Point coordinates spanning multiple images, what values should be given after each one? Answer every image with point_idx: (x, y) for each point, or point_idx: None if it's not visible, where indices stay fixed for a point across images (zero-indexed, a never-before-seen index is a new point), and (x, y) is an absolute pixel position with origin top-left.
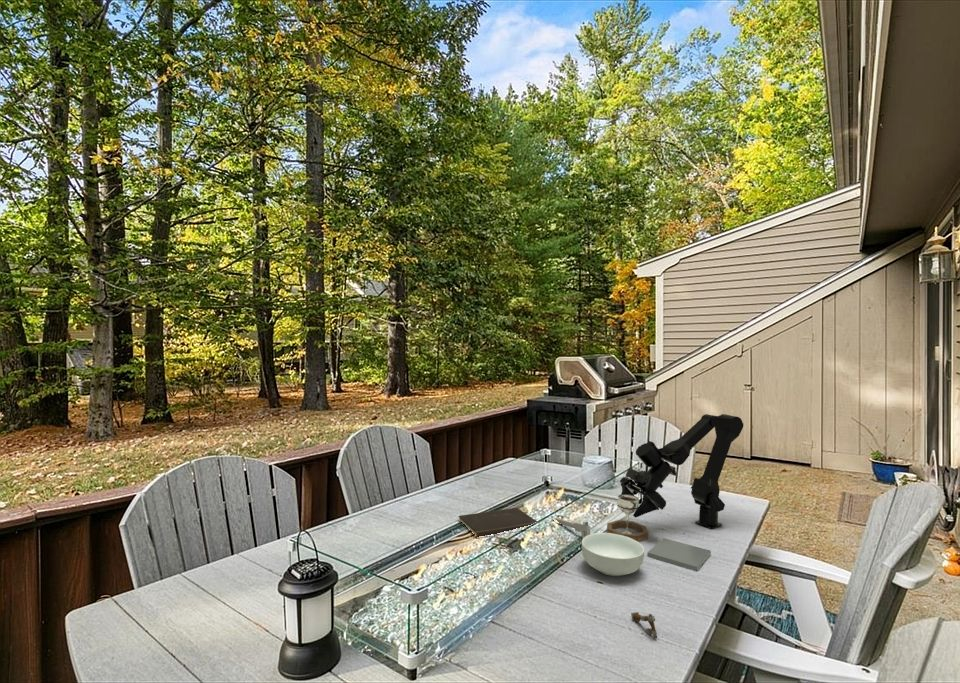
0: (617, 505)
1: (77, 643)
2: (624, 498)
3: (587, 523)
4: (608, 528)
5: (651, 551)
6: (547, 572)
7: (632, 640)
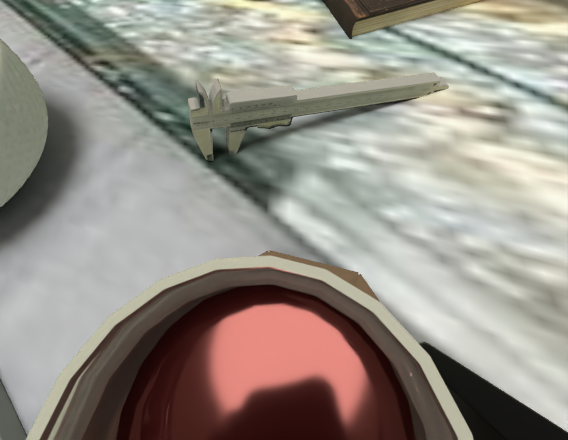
0: (419, 344)
1: None
2: None
3: (199, 97)
4: (277, 253)
5: None
6: (51, 28)
7: None
